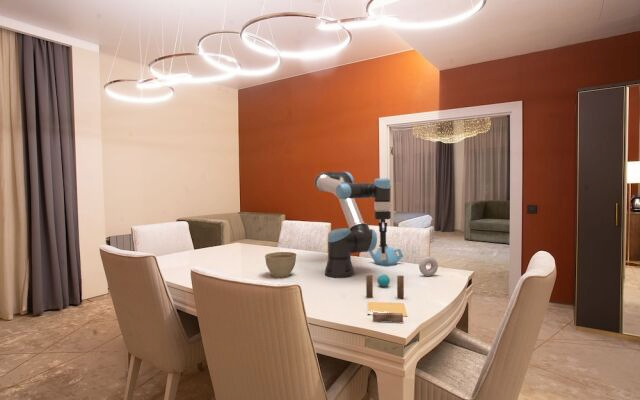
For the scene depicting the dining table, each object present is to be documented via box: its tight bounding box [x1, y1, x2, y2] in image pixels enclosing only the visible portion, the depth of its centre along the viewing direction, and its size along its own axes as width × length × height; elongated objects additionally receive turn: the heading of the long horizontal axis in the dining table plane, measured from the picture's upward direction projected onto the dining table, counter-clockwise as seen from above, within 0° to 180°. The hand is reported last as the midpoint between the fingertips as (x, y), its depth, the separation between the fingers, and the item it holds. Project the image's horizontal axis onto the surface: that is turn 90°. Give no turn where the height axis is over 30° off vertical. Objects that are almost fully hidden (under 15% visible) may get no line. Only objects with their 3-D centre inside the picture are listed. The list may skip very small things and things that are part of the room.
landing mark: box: [366, 301, 408, 317], centre depth 137 cm, size 14×14×1 cm
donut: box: [418, 255, 439, 277], centre depth 184 cm, size 10×3×10 cm, turn 102°
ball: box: [377, 273, 391, 288], centre depth 167 cm, size 6×6×6 cm
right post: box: [396, 274, 405, 300], centre depth 150 cm, size 3×3×9 cm
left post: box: [365, 274, 374, 299], centre depth 152 cm, size 3×3×9 cm
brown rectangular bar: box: [372, 312, 404, 323], centre depth 125 cm, size 10×2×2 cm, turn 82°
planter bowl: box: [264, 251, 297, 278], centre depth 190 cm, size 16×16×11 cm
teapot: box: [368, 244, 404, 267], centre depth 214 cm, size 15×15×11 cm
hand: (383, 259), depth 176 cm, fingers closed
